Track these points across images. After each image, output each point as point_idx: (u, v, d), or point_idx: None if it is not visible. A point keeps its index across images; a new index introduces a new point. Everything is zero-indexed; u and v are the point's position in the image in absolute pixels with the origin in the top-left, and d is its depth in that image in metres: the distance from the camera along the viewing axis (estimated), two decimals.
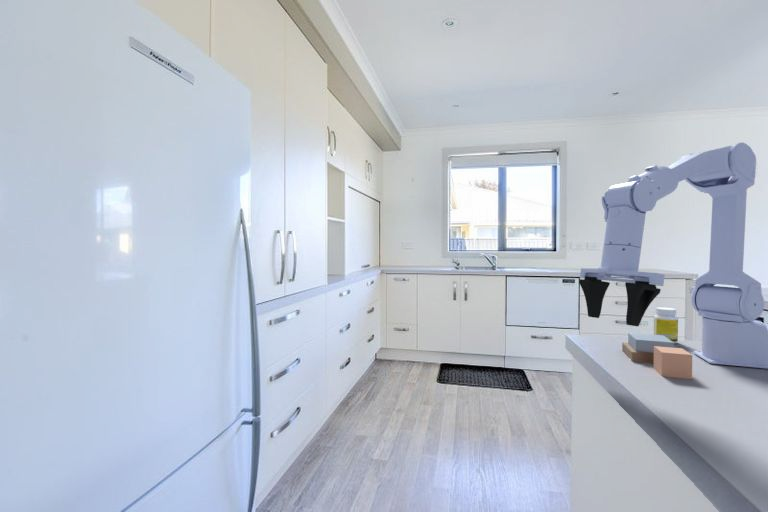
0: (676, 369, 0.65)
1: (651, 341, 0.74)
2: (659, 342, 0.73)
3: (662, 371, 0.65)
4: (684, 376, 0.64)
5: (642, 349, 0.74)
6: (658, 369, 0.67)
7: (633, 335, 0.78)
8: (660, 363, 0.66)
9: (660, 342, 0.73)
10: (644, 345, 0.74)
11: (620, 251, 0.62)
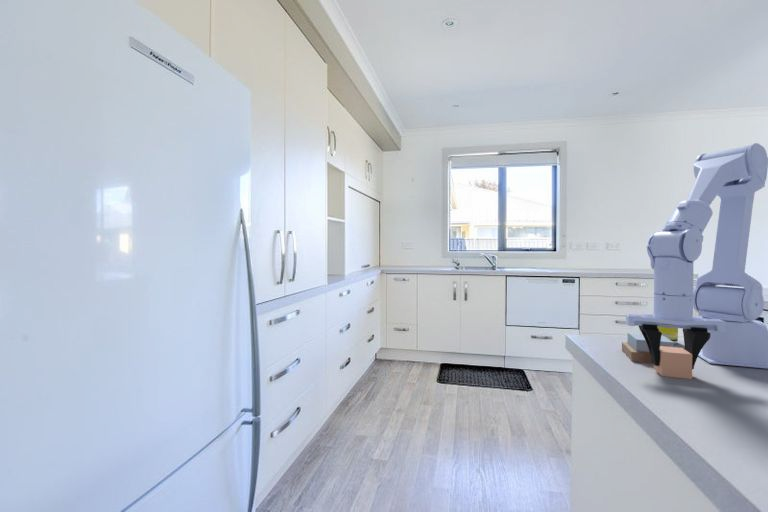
0: (676, 369, 0.65)
1: None
2: None
3: (662, 370, 0.65)
4: (684, 375, 0.64)
5: (642, 349, 0.74)
6: (658, 368, 0.67)
7: (633, 335, 0.78)
8: (660, 363, 0.66)
9: (660, 342, 0.73)
10: (645, 345, 0.74)
11: (689, 302, 0.64)
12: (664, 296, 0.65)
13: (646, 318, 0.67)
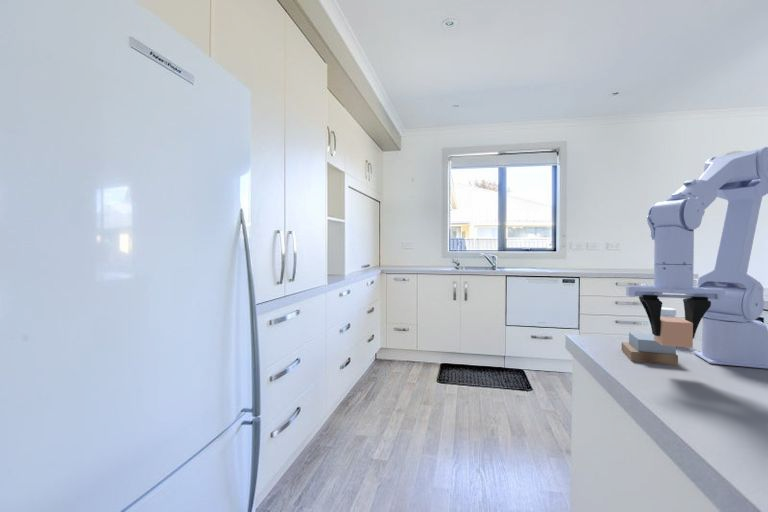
0: (676, 338, 0.65)
1: (653, 341, 0.73)
2: None
3: (663, 340, 0.65)
4: (685, 345, 0.64)
5: (644, 349, 0.74)
6: (659, 339, 0.67)
7: (634, 335, 0.78)
8: (661, 333, 0.66)
9: None
10: (647, 345, 0.74)
11: (689, 271, 0.64)
12: (664, 265, 0.65)
13: (646, 288, 0.67)
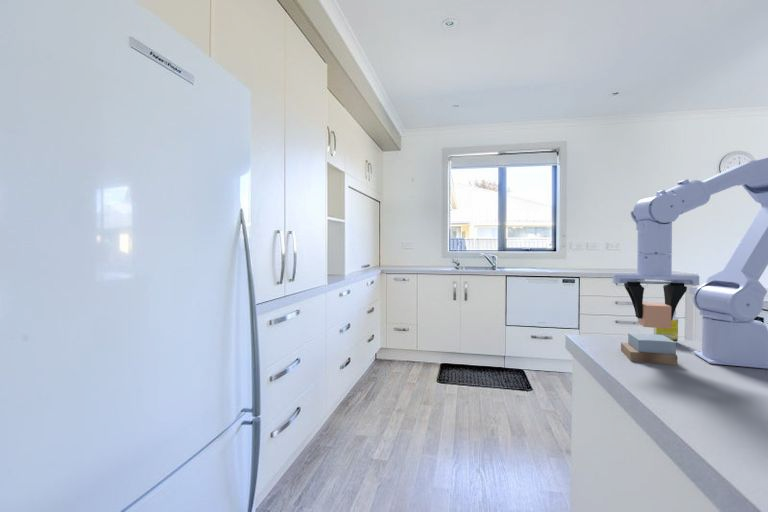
0: (657, 320, 0.72)
1: (653, 341, 0.73)
2: (661, 342, 0.73)
3: (645, 322, 0.73)
4: (664, 326, 0.72)
5: (645, 349, 0.74)
6: (641, 321, 0.74)
7: (634, 335, 0.78)
8: (643, 315, 0.73)
9: (662, 342, 0.73)
10: (647, 345, 0.74)
11: (668, 259, 0.71)
12: (646, 255, 0.73)
13: (630, 275, 0.74)
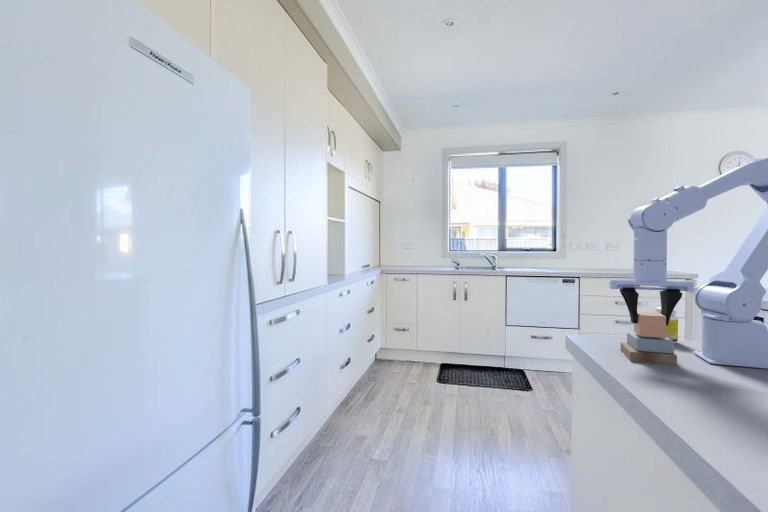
0: (652, 329, 0.74)
1: (651, 340, 0.74)
2: (659, 341, 0.73)
3: (640, 331, 0.75)
4: (659, 335, 0.74)
5: (643, 348, 0.74)
6: (637, 330, 0.76)
7: (632, 334, 0.78)
8: (639, 325, 0.75)
9: (660, 341, 0.73)
10: (645, 344, 0.74)
11: (662, 266, 0.73)
12: (642, 261, 0.75)
13: (626, 281, 0.76)
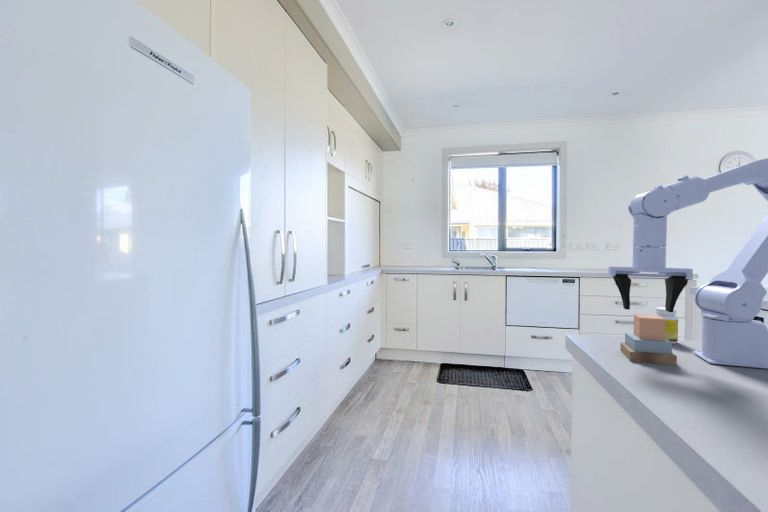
0: (651, 332, 0.74)
1: (649, 341, 0.74)
2: (657, 342, 0.73)
3: (640, 334, 0.75)
4: (658, 338, 0.74)
5: (641, 349, 0.74)
6: (637, 333, 0.77)
7: (630, 335, 0.78)
8: (638, 327, 0.76)
9: (658, 342, 0.73)
10: (643, 345, 0.74)
11: (662, 252, 0.73)
12: (641, 248, 0.75)
13: (625, 268, 0.76)
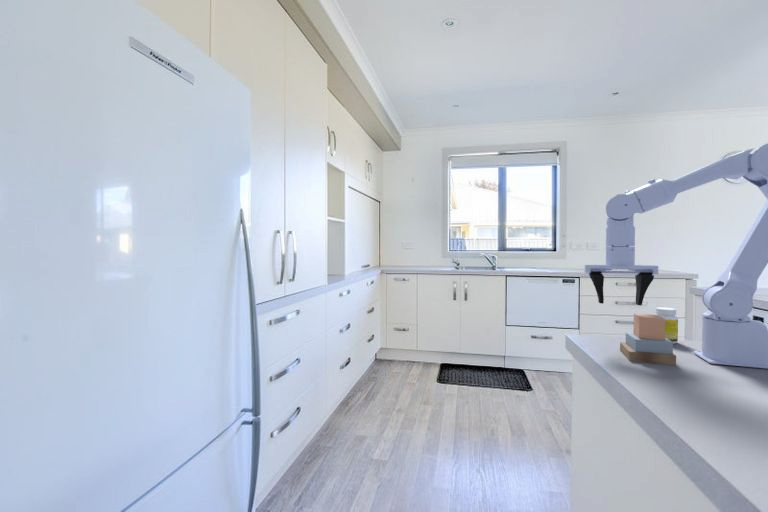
0: (651, 331, 0.74)
1: (650, 341, 0.74)
2: (658, 342, 0.73)
3: (639, 333, 0.75)
4: (658, 337, 0.74)
5: (642, 349, 0.74)
6: (636, 332, 0.77)
7: (631, 335, 0.78)
8: (638, 327, 0.76)
9: (659, 342, 0.73)
10: (644, 345, 0.74)
11: (630, 251, 0.81)
12: (612, 247, 0.83)
13: (599, 266, 0.84)
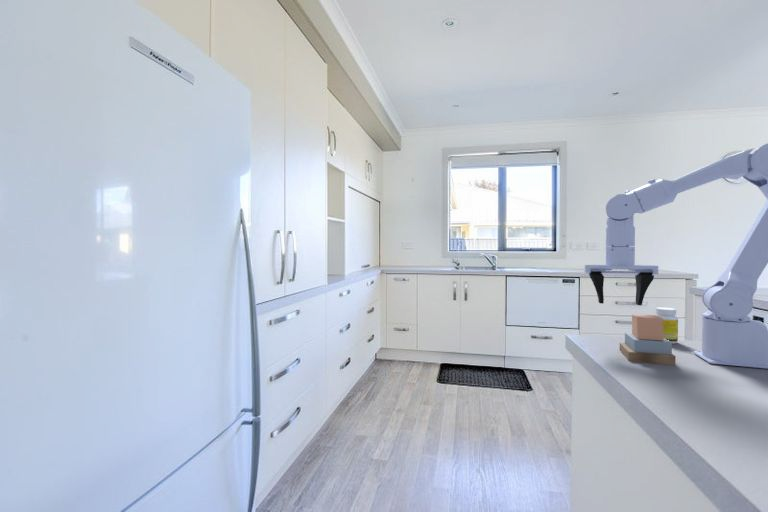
0: (650, 332, 0.74)
1: (649, 341, 0.74)
2: (657, 342, 0.73)
3: (638, 334, 0.75)
4: (657, 338, 0.74)
5: (641, 349, 0.74)
6: (635, 333, 0.77)
7: (630, 335, 0.78)
8: (636, 327, 0.75)
9: (658, 342, 0.73)
10: (643, 345, 0.74)
11: (630, 251, 0.81)
12: (612, 247, 0.83)
13: (599, 266, 0.84)
